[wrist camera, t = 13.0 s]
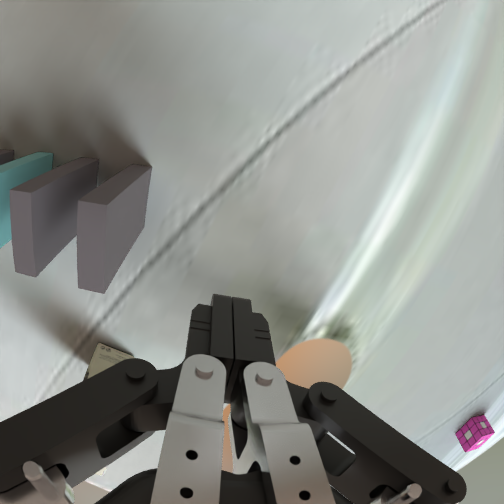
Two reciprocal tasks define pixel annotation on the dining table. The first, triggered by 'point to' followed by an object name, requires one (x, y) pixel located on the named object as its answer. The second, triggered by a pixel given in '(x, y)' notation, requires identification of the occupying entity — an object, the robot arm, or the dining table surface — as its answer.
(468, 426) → the puzzle toy
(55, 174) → the domino
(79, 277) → the domino
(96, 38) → the dining table surface
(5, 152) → the domino
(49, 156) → the domino
